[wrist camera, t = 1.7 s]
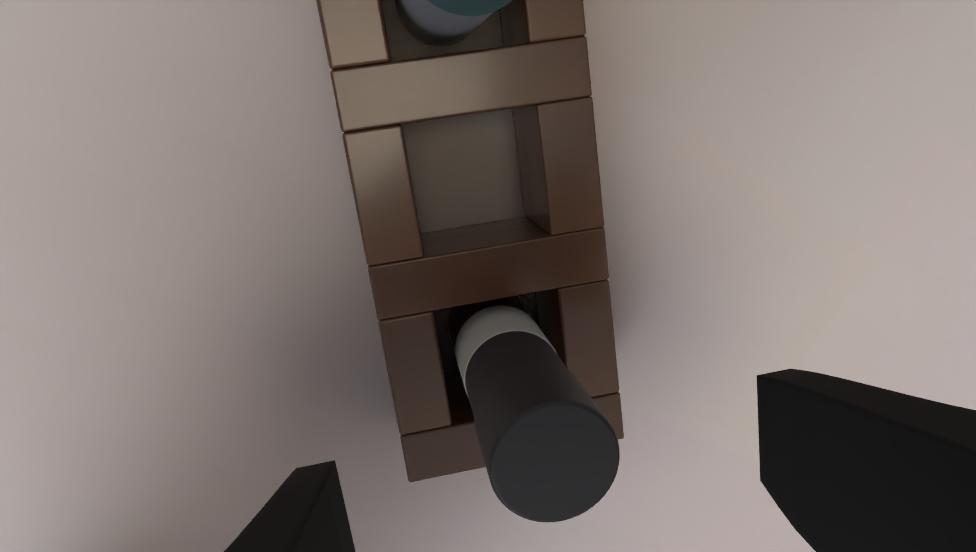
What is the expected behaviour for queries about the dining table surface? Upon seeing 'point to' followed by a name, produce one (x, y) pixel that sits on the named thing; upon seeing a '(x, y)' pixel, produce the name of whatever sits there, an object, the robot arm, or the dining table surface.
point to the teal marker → (445, 18)
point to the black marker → (531, 414)
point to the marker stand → (483, 247)
